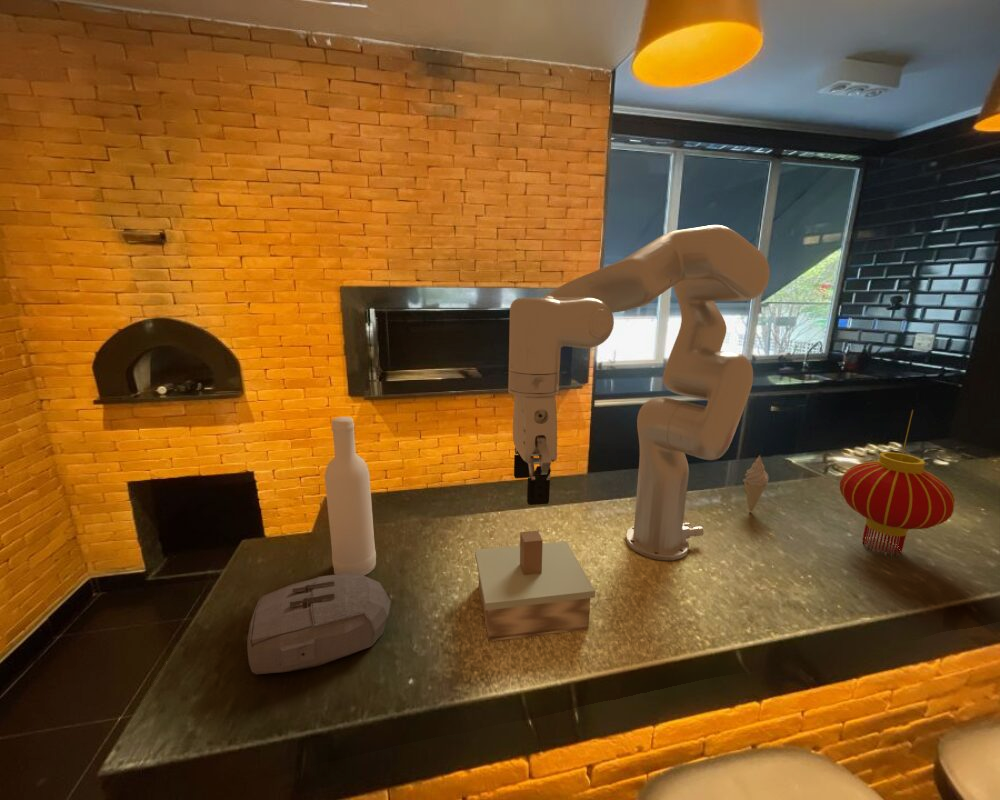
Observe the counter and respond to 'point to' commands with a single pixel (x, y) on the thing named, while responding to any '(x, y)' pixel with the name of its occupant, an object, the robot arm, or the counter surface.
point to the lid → (531, 574)
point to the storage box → (536, 619)
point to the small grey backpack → (316, 622)
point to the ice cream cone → (755, 483)
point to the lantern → (896, 496)
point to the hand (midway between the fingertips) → (530, 489)
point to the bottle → (349, 504)
